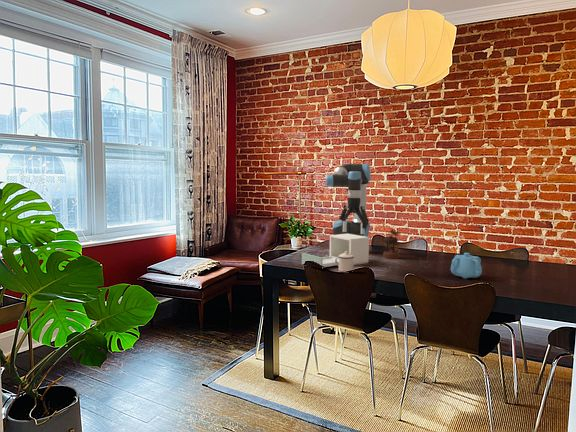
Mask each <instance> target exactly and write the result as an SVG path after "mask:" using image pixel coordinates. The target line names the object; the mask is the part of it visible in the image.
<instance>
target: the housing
mask: <svg viewBox="0 0 576 432" xmlns="http://www.w3.org/2000/svg"><path fill="white" fill-rule="evenodd" d="M345 251H348V253H349V254H351V255H353V256H354V258H353V266H358V265H364V264H368V263H369V258H370V257H369V255H370V254H369V253H370V236H368V237H365V236H359V235H353V234H338V235H333V234H331V235H329V256H334V257H338V256H339V255H341V254H343V253H345Z"/></svg>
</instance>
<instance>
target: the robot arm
mask: <svg viewBox="0 0 576 432" xmlns="http://www.w3.org/2000/svg"><path fill="white" fill-rule="evenodd" d="M371 180H372V175H371V168H370V164H367V163H347V164H342V165H340V166H338V167H336V168H335V169H334V171H333V173H332V174H327V175H326V176H325V186H326V187H329V188H336V187H337V188H339V187H341V188H347V204H344V205H343V209H342V211H341V214H340V216H339V220H335V221H333V223H332V235H338V234H353V235H359V236H365V237H369V233H370V227H371V223H370V221H369V217H368V215H367V186H368V185H369V183H370V182H371ZM351 214H353V218H352V219H351V221H350V219H348V218H349V216H350V215H351Z"/></svg>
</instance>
